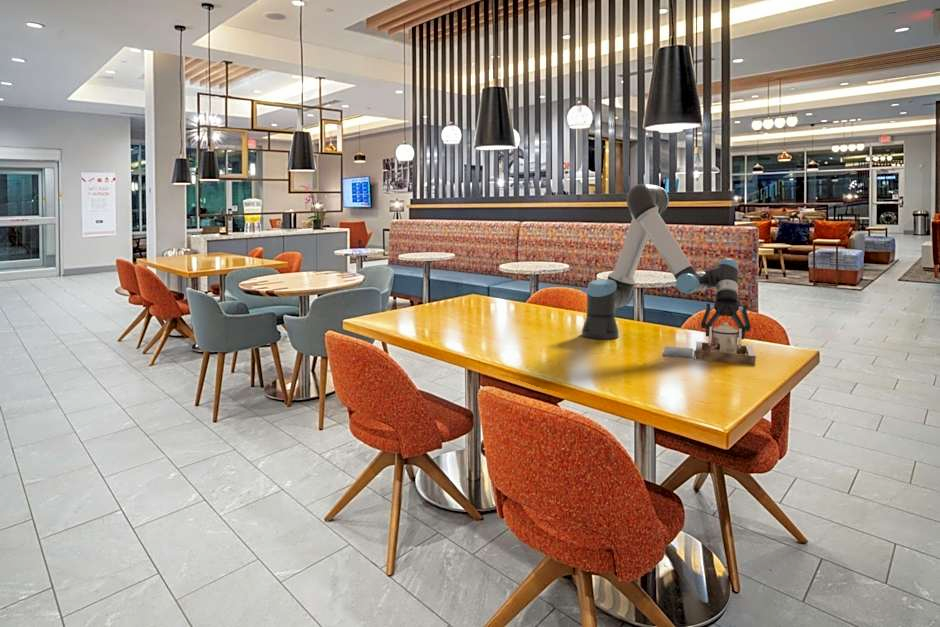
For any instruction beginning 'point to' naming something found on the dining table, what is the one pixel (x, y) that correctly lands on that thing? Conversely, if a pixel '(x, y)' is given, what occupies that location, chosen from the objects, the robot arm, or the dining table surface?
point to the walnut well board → (725, 354)
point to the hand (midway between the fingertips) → (724, 344)
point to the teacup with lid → (724, 339)
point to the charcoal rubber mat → (678, 352)
